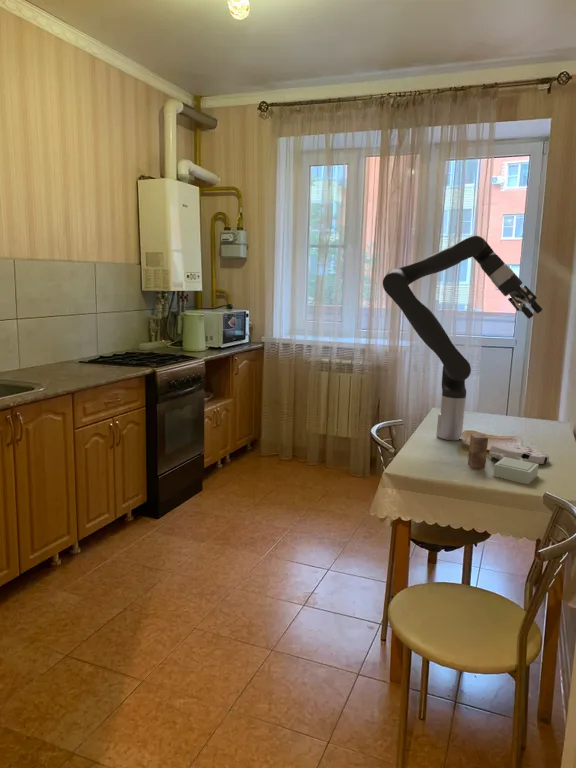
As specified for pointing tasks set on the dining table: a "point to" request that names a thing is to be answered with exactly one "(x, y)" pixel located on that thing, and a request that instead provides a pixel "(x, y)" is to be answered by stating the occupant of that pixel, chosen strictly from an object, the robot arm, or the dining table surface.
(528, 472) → the stand
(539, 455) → the toy
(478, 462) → the block
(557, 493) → the dining table surface
